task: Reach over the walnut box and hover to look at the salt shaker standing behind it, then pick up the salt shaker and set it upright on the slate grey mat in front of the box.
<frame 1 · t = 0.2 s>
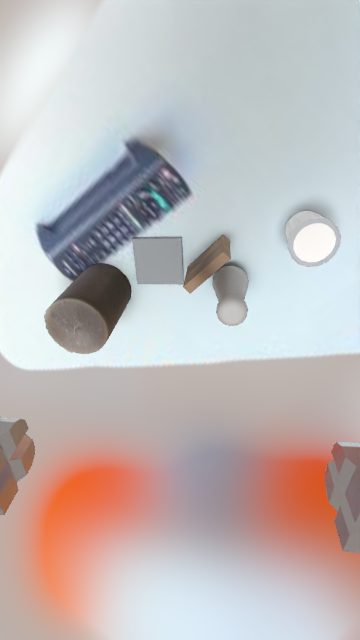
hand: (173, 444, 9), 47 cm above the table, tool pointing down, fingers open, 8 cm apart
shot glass: (303, 228, 52), on the table
pillar candle: (104, 287, 61), on the table
walnut box: (208, 254, 55), on the table
salt shaker: (230, 276, 57), on the table
slate mat: (159, 260, 57), on the table
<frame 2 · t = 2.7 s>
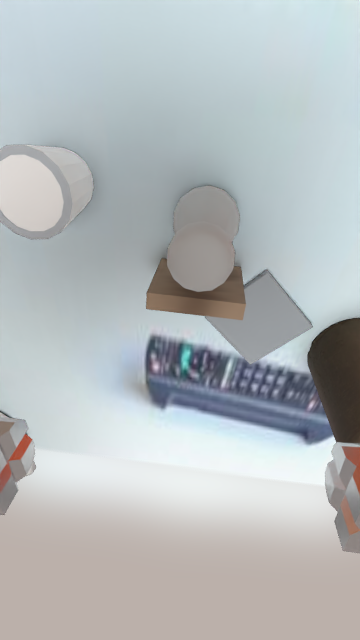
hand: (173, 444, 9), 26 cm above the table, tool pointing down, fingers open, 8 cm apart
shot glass: (65, 181, 31), on the table
pillar candle: (352, 354, 38), on the table
walnut box: (200, 269, 34), on the table
salt shaker: (207, 214, 31), on the table
slate mat: (257, 318, 36), on the table
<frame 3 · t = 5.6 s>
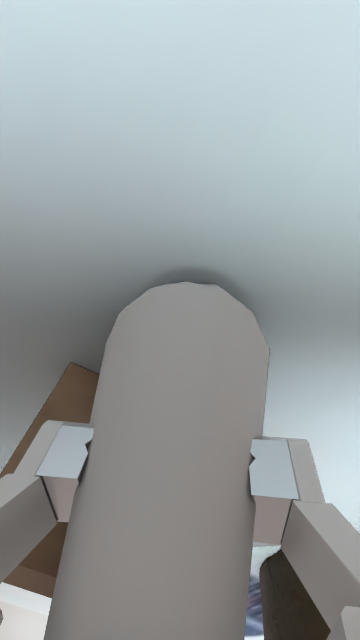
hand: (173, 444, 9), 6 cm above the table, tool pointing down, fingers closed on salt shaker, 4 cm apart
pillar candle: (328, 574, 24), on the table
walnut box: (141, 405, 17), on the table
salt shaker: (192, 322, 14), on the table, touching gripper
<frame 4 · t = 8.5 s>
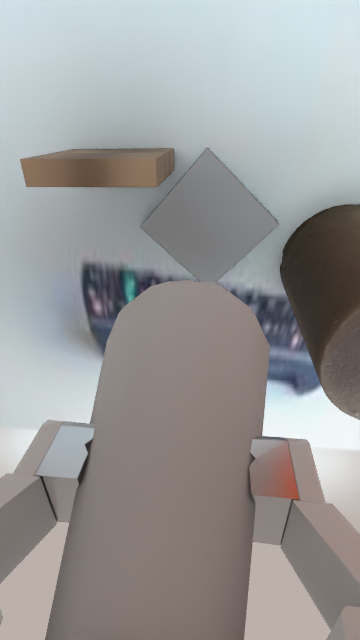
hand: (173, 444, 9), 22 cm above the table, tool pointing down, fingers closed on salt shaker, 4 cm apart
pillar candle: (338, 262, 29), on the table
walnut box: (123, 159, 26), on the table
salt shaker: (192, 320, 14), point 16 cm above the table, touching gripper
slate mat: (208, 223, 28), on the table
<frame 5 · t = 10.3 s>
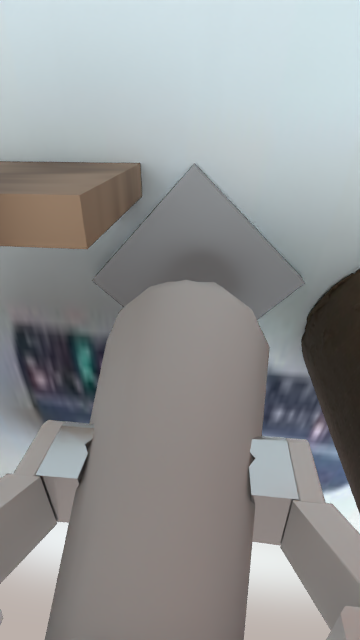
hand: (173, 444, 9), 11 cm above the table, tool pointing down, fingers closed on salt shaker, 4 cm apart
walnut box: (61, 178, 17), on the table
salt shaker: (192, 320, 14), point 5 cm above the table, touching gripper
slate mat: (195, 276, 19), on the table
when the fingers open (8 cm above the table, at t = 11.7 s): salt shaker drops 1 cm, resting on slate mat.
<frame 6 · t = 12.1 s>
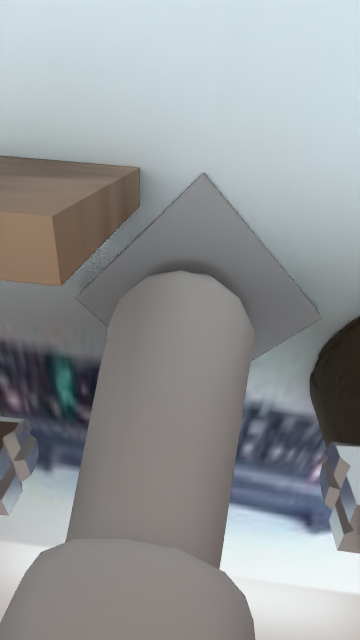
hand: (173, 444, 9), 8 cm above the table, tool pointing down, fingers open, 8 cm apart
walnut box: (44, 179, 14), on the table
salt shaker: (186, 309, 16), point 1 cm above the table, touching slate mat
slate mat: (196, 300, 16), on the table
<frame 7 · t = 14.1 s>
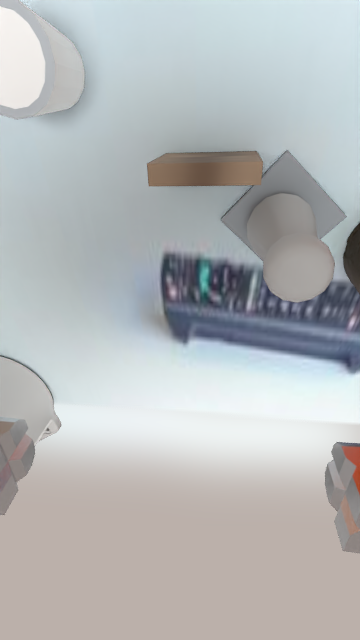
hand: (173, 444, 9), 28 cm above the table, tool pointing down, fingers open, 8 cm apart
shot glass: (54, 72, 29), on the table
walnut box: (210, 161, 30), on the table
salt shaker: (277, 220, 32), point 1 cm above the table, touching slate mat
slate mat: (281, 216, 32), on the table
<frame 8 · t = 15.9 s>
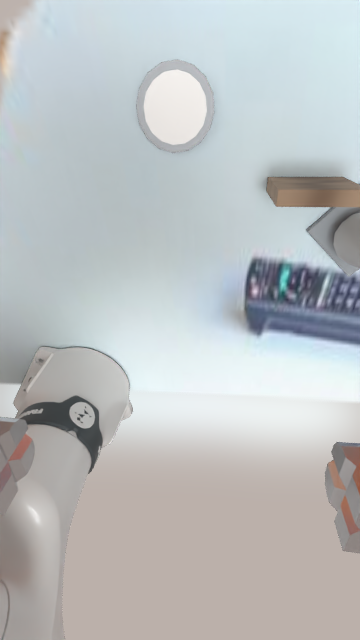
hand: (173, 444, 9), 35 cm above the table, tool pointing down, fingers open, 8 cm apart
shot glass: (183, 111, 35), on the table
walnut box: (303, 184, 37), on the table
salt shaker: (354, 232, 39), point 1 cm above the table, touching slate mat
slate mat: (356, 229, 39), on the table
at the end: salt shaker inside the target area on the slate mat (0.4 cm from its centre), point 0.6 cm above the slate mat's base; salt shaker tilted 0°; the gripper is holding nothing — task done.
